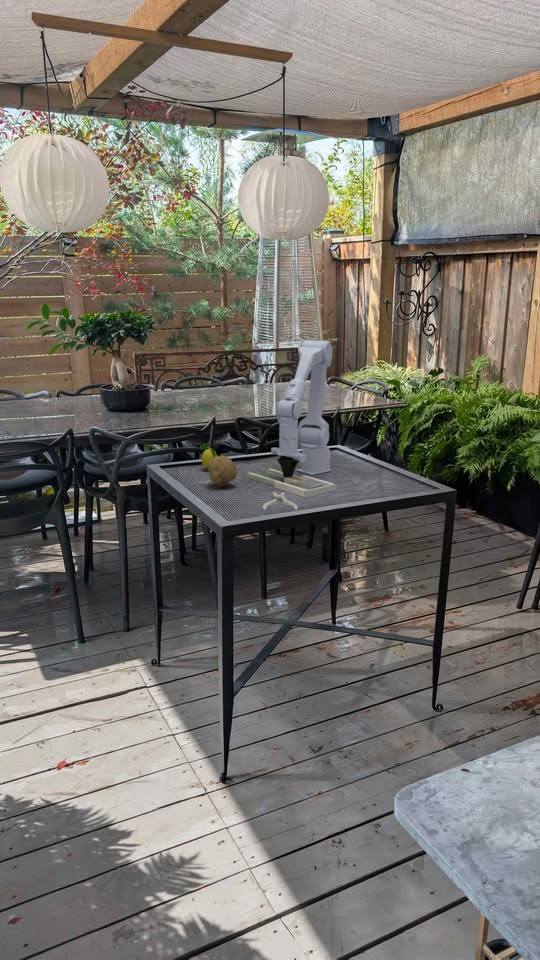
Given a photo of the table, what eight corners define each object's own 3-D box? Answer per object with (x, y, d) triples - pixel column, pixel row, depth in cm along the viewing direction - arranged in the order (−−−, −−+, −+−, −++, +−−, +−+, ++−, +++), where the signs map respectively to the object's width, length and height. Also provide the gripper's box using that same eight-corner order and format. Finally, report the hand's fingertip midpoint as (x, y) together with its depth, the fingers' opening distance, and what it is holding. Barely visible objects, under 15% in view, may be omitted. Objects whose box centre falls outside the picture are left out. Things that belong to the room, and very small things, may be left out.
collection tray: (304, 481, 227) (304, 475, 227) (335, 490, 216) (336, 484, 216) (274, 487, 219) (274, 481, 219) (306, 497, 209) (306, 491, 208)
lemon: (200, 468, 244) (200, 439, 241) (217, 467, 244) (217, 439, 242) (200, 472, 237) (200, 443, 235) (218, 472, 238) (217, 443, 235)
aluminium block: (309, 488, 220) (309, 479, 219) (322, 492, 216) (323, 482, 215) (297, 491, 217) (297, 481, 216) (311, 495, 212) (311, 485, 212)
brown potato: (237, 482, 225) (237, 452, 222) (236, 490, 216) (236, 459, 214) (209, 483, 225) (208, 452, 222) (207, 490, 216) (206, 459, 214)
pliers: (262, 506, 196) (262, 491, 210) (262, 511, 196) (261, 496, 211) (298, 506, 196) (294, 491, 211) (298, 511, 197) (294, 496, 211)
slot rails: (270, 472, 238) (270, 468, 237) (300, 481, 227) (300, 477, 226) (247, 477, 232) (247, 473, 231) (276, 486, 221) (276, 482, 220)
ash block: (295, 484, 224) (295, 475, 223) (308, 488, 220) (308, 479, 219) (283, 487, 221) (284, 478, 220) (296, 491, 217) (296, 482, 216)
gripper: (263, 435, 223) (263, 477, 226) (294, 443, 212) (294, 486, 216) (280, 433, 227) (280, 473, 231) (311, 440, 217) (310, 482, 220)
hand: (288, 479), depth 224 cm, fingers closed
